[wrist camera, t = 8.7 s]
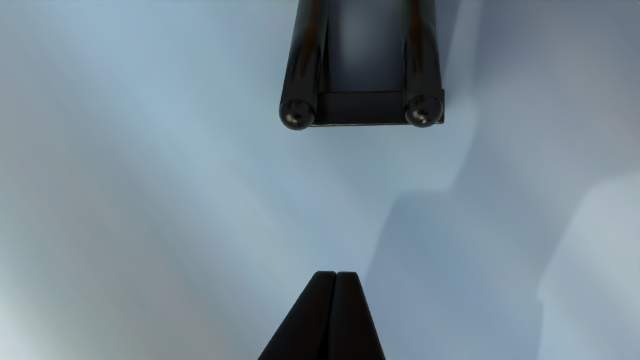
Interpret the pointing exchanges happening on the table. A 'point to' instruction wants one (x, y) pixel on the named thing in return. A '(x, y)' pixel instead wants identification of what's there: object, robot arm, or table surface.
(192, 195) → the table surface
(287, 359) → the robot arm
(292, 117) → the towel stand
